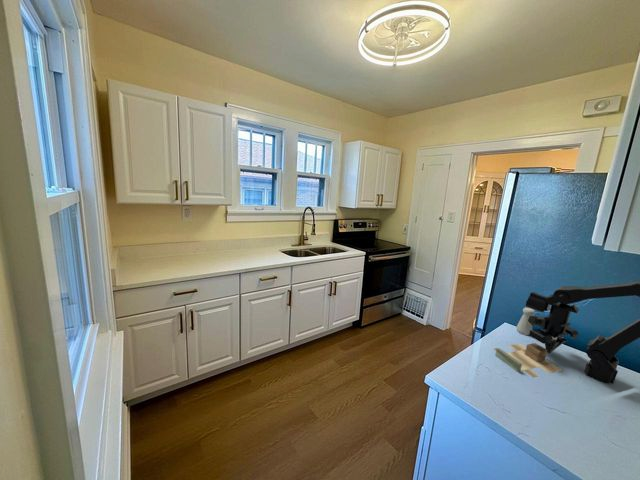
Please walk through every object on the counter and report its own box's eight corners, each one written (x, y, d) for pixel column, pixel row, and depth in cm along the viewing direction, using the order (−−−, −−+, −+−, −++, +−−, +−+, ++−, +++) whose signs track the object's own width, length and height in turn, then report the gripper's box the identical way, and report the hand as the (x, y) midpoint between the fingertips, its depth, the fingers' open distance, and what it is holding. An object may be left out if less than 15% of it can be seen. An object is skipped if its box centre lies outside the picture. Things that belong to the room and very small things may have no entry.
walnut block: (532, 352, 106) (535, 343, 104) (544, 360, 101) (547, 350, 100) (524, 354, 104) (527, 344, 103) (536, 361, 100) (539, 351, 99)
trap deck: (519, 346, 111) (521, 337, 110) (562, 372, 97) (565, 363, 96) (486, 352, 106) (488, 343, 105) (526, 381, 92) (529, 371, 91)
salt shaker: (518, 336, 119) (524, 310, 115) (513, 329, 124) (519, 305, 121) (533, 339, 117) (540, 313, 114) (527, 332, 122) (534, 307, 119)
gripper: (552, 305, 111) (543, 337, 115) (519, 309, 106) (511, 343, 110) (584, 319, 100) (573, 353, 104) (549, 324, 95) (539, 360, 99)
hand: (548, 352), depth 105 cm, fingers closed
